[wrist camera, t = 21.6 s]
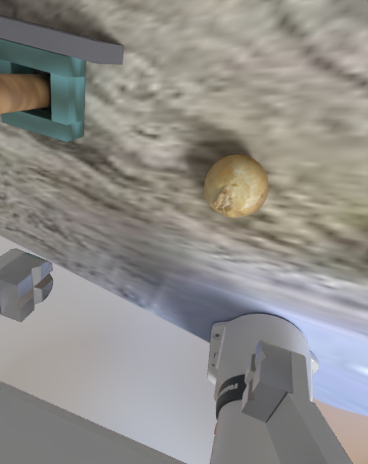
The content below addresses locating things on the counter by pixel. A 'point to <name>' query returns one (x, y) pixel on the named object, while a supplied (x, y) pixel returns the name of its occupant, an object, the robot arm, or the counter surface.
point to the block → (62, 90)
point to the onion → (236, 186)
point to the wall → (60, 41)
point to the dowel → (24, 92)
